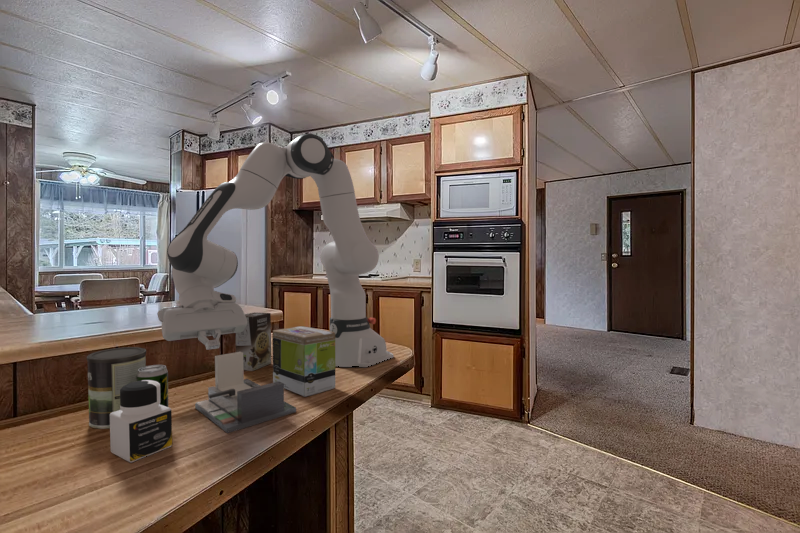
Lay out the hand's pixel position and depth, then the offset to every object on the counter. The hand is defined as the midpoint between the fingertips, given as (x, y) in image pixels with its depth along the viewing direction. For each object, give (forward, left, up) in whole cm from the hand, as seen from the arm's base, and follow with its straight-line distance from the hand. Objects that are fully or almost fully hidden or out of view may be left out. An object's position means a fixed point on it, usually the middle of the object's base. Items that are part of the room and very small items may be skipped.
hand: (213, 347), depth 103 cm
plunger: (+2, +12, -10) cm, 16 cm away
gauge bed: (0, +17, -11) cm, 20 cm away
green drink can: (+17, +13, -11) cm, 24 cm away
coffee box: (-17, -15, -11) cm, 26 cm away
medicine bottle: (+21, +22, -11) cm, 32 cm away
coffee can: (+21, +3, -11) cm, 24 cm away
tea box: (-18, +12, -11) cm, 25 cm away
